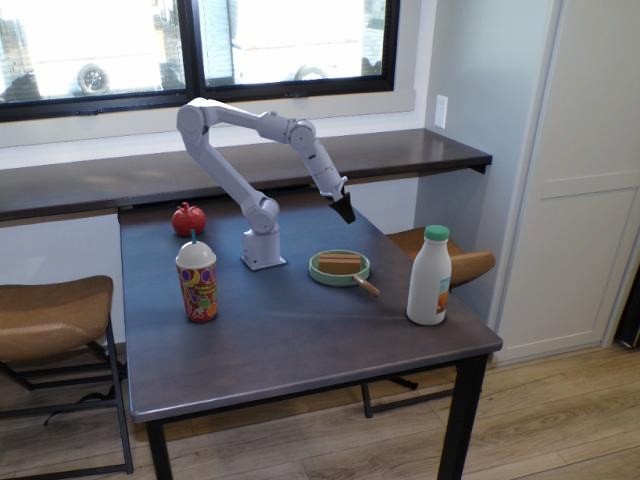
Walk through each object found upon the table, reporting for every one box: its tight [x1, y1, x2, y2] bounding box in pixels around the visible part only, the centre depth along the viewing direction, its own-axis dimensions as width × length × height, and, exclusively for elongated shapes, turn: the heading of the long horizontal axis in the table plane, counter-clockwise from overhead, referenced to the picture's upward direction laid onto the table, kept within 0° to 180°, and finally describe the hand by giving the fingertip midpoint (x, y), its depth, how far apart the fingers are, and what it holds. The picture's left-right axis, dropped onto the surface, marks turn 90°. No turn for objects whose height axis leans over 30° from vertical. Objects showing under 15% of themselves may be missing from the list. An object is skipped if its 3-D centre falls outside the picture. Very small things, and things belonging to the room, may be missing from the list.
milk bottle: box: [406, 224, 452, 326], centre depth 105 cm, size 8×8×20 cm
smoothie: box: [174, 229, 218, 323], centre depth 108 cm, size 8×8×20 cm
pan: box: [308, 249, 371, 287], centre depth 128 cm, size 15×15×3 cm
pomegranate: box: [171, 202, 207, 237], centre depth 152 cm, size 10×10×9 cm
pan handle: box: [352, 274, 381, 299], centre depth 118 cm, size 10×2×2 cm, turn 23°
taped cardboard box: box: [319, 254, 361, 275], centre depth 128 cm, size 10×5×4 cm, turn 83°
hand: (349, 217), depth 127 cm, fingers open, 7 cm apart
